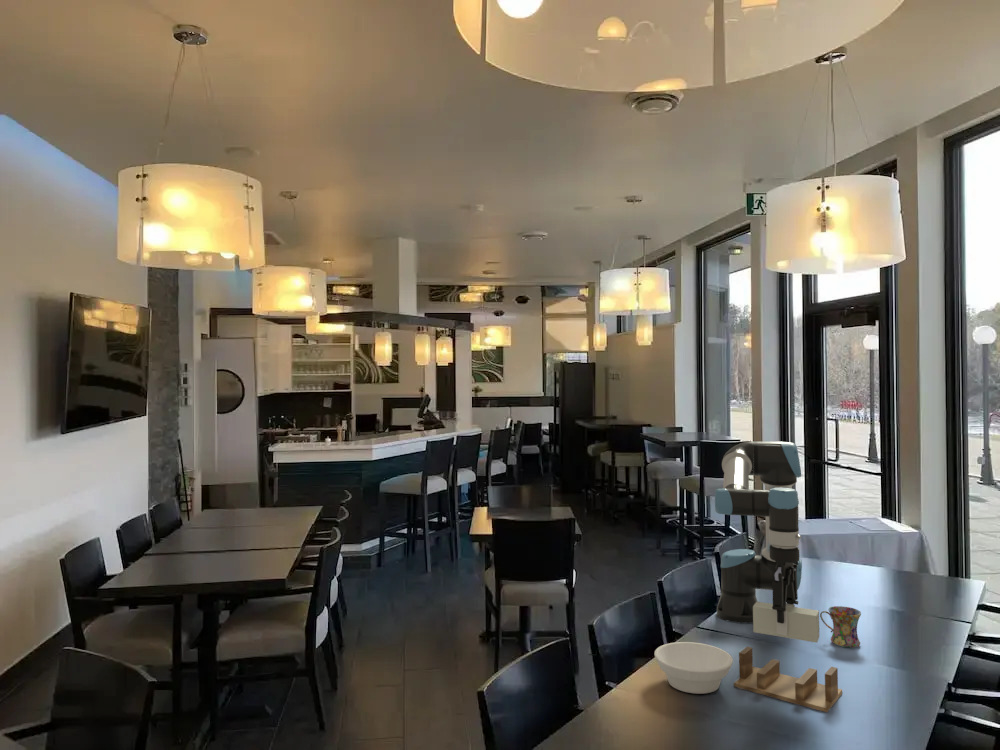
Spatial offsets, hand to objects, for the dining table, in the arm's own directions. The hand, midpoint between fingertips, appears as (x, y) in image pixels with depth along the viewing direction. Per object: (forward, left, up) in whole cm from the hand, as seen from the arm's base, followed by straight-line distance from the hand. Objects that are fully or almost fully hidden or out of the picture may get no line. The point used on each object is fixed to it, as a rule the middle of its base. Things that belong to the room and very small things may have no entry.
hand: (786, 630), depth 187 cm
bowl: (-21, -13, -16) cm, 30 cm away
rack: (0, 0, -16) cm, 16 cm away
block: (0, 0, -1) cm, 1 cm away
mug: (+2, +45, -16) cm, 48 cm away
